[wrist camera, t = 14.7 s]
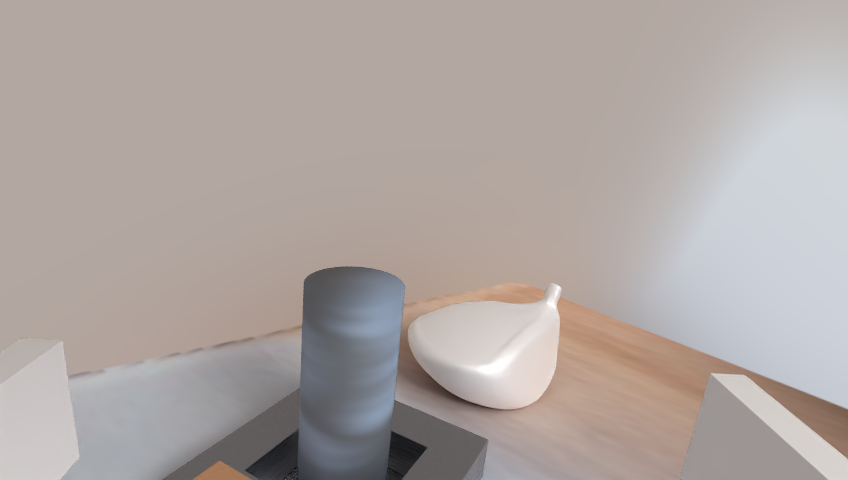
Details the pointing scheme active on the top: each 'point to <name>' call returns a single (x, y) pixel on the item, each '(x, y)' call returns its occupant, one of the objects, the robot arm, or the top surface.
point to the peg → (348, 373)
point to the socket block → (278, 448)
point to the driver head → (490, 349)
